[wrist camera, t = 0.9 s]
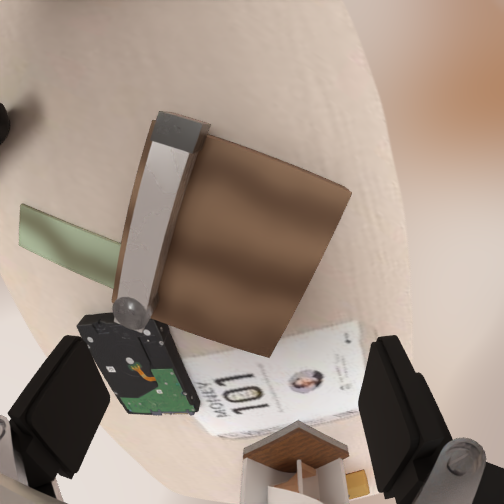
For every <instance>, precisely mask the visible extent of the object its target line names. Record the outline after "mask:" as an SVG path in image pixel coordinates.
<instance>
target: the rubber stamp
mask: <svg viewBox="0 0 504 504" xmlns="http://www.w3.org/2000/svg"><path fill="white" fill-rule="evenodd" d="M345 476H346V483H347V490H348V497H349V499H353V498H357V497H361V496H364V495H368V494H369V493H370V491H369V486H368V481H367V477H366V474H365V471H364V470H361V471H357V472H354V473H350V474H346V475H345Z"/></svg>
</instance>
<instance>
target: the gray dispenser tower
mask: <svg viewBox="0 0 504 504" xmlns="http://www.w3.org/2000/svg"><path fill="white" fill-rule="evenodd" d="M347 457H349V453H348V447H347V445H345V444H343V443H340V442H338V441H336V440H335V439H333V438H331V437H329V436H327V435H325V434H323V433H321V432H319V431H317V430H315V429H313V428H311V427H310V426H308V425H306V424H304V423H302V422H300V421H299V420H298V421H296V422H295V423H293V424H291V425H289V426H287V427H285V428H284V429H282V430H280V431H278V432H276V433H274V434H272V435H270V436H268V437H266V438H264V439H262V440H260V441H258V442H256V443H254V444H252V445H250V446H248V447H246V448H244V454H243V466H242V479H241V491H240V504H349V497H348V490H347V483H346V476H345V470H344V463H343V459H345V458H347Z"/></svg>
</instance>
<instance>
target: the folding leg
mask: <svg viewBox="0 0 504 504" xmlns="http://www.w3.org/2000/svg"><path fill="white" fill-rule="evenodd" d="M210 125H211V124H209V123H206V122H203V121H199V120H196V119H193V118H190V117H186V116H183V115H179V114H176V113H172V112H163V111H159V113H158V116H157V119H156V122H155V125H154V128H153V132H152V135H151V138H150V141H152V145H151V148H150V151H149V155H148V158H147V162H146V166H145V169H144V173H143V177H142V180H141V184H140V188H139V192H138V196H137V200H136V204H135V208H134V213H133V217H132V222H131V226H130V231H129V236H128V240H127V245H126V250H125V256H124V261H123V266H122V272H121V278H120V284H119V290H118V297H117V299H116V300H115V302H114V304H113V314H114V316H115V318H114V322H116V323H118V324H121V325H123V326H124V327H126V328H128V329H132V330H135V331H138V332H140V333H142V332H143V330H144V328H145V326H146V325H147V323H148V321H149V319H150V317H151V316H152V314H153V312H154V310H155V308H156V307H157V305H158V302H159V295H158V288H159V284H160V280H161V276H162V272H163V269H164V265H165V261H166V257H167V253H168V250H169V246H170V242H171V239H172V235H173V232H174V228H175V225H176V221H177V218H178V214H179V211H180V208H181V204H182V201H183V198H184V195H185V191H186V188H187V185H188V182H189V179H190V176H191V173H192V169H193V166H194V163H195V160H196V157H197V154H198V151H201V150H202V148H203V145H204V142H205V139H206V137H207V134H208V131H209V128H210Z"/></svg>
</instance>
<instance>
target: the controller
mask: <svg viewBox="0 0 504 504" xmlns="http://www.w3.org/2000/svg"><path fill="white" fill-rule="evenodd" d="M9 127H10V123H9V118H8V115H7V111H6V109H5V107H4V105H3V104H2V103H0V144H1V143H2V142H3V141H4V139H5V138H6V136H7V134H8V132H9Z"/></svg>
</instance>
